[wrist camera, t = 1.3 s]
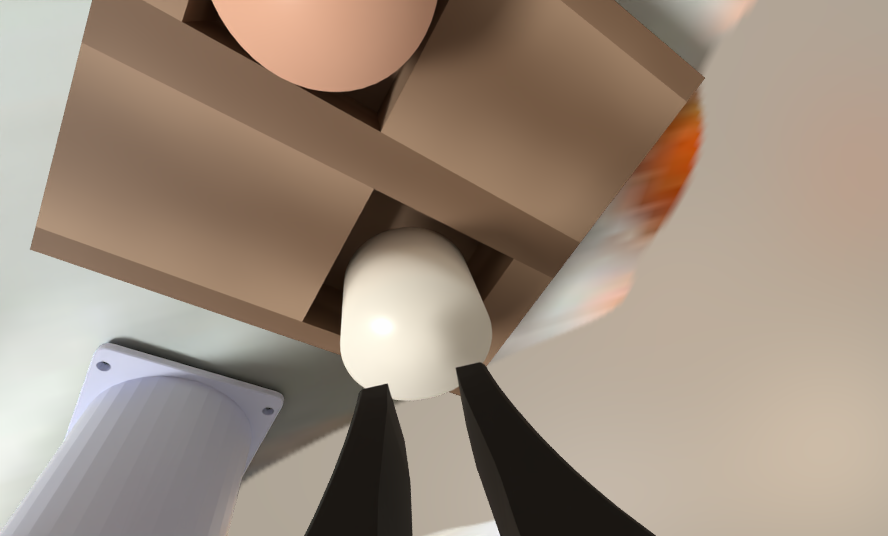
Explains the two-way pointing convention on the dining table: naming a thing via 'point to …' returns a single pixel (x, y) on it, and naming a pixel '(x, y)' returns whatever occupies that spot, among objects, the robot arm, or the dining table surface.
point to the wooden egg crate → (349, 155)
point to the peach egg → (329, 38)
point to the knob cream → (411, 314)
